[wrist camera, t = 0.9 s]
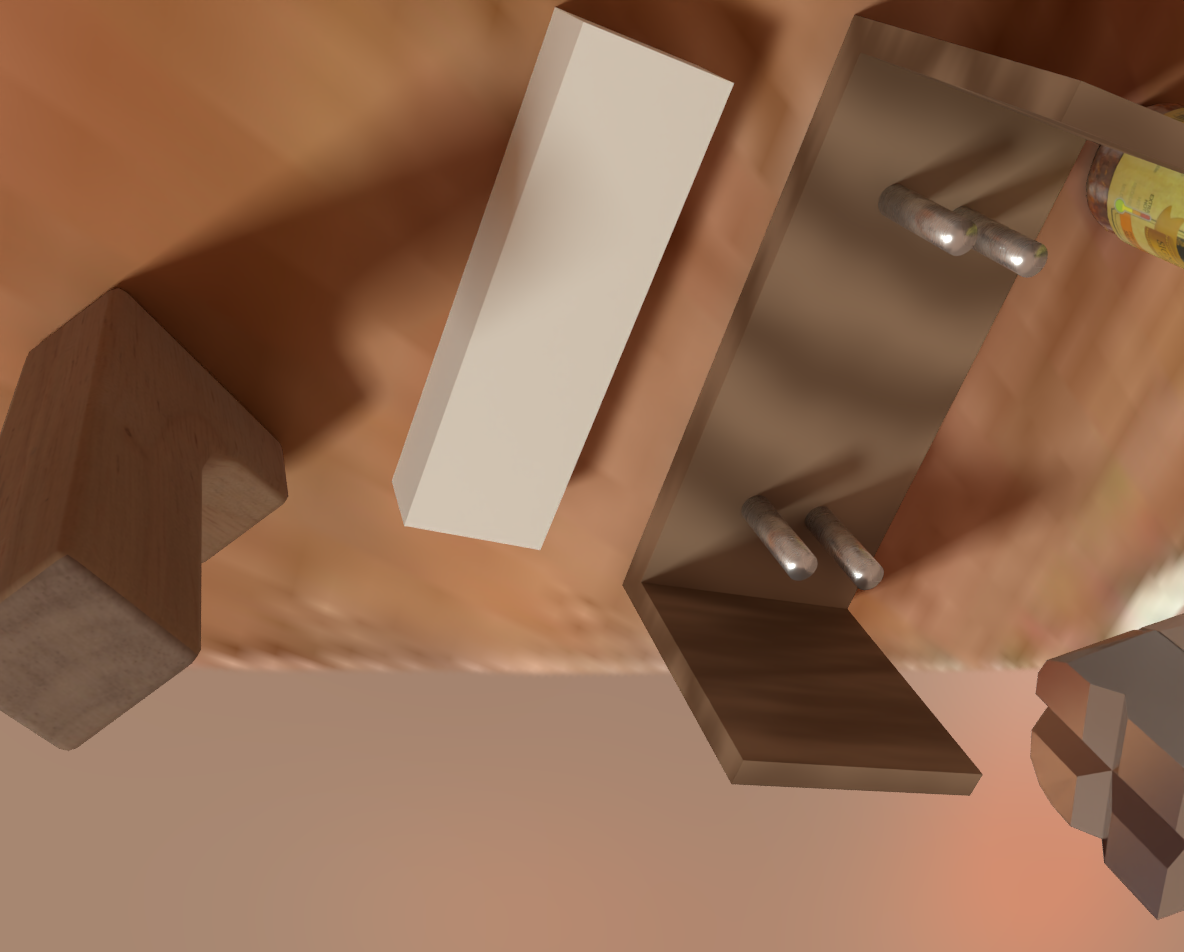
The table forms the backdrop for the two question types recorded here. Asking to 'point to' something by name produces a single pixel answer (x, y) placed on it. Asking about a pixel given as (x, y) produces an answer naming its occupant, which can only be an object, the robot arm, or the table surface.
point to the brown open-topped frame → (854, 399)
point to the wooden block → (115, 516)
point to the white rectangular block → (554, 280)
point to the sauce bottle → (1140, 198)
